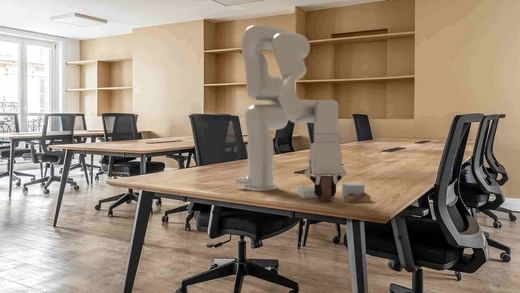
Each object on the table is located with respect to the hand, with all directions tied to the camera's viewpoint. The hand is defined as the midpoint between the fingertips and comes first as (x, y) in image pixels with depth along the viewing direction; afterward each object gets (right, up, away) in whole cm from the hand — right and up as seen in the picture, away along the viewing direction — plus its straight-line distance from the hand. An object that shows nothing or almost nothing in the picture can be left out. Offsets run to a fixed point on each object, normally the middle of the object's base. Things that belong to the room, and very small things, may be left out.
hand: (325, 195), depth 136 cm
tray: (-2, -1, +10) cm, 10 cm away
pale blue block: (+10, -2, +4) cm, 10 cm away
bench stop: (+10, -2, 0) cm, 10 cm away
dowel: (0, -2, 0) cm, 2 cm away
